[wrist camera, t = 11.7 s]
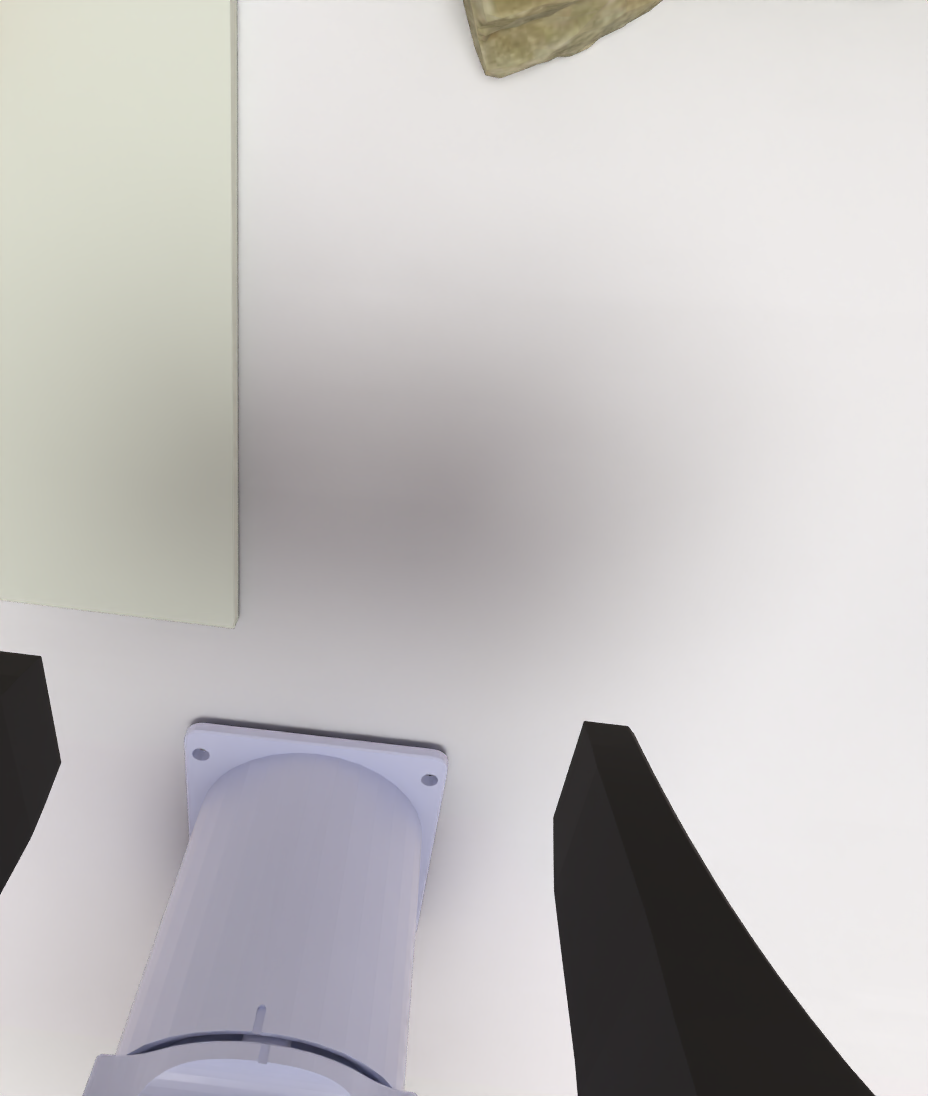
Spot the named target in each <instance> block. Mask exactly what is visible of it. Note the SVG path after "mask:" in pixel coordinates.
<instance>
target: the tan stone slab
mask: <svg viewBox="0 0 928 1096" xmlns="http://www.w3.org/2000/svg"><path fill="white" fill-rule="evenodd" d="M661 1H662V0H463V2H464V6H465V10H466V15H467V19H468V23H469V26H470V30H471V34H472V38H473V42H474V46H475V49H476V52H477V54H478V57H479V59H480V62H481V65H482V67H483V70H484V72H485V75H488V76H492V77H497V78H502V77H505V76H508V75H510V74H513V73H516V72H519V71H521V70H524V69H526V68H529V67H531V66H534V65H536V64H540V63H544V62H547V61H550V60H552V59H554V58H556V57H567V56H572V55H574V54H577V53H579V52H581V51H583V50H585V49H588V48H589V47H590V46H591V45H593V44H594V43H595V42H596V41H597V40H598V39H599V38H601V37H603V36H605V35H607V34H609V33H611V32H613V31H615V30H618V29H620V28H622V27H623V26H625V25H626V24H627V23H629V22H631V21H632V20H634V19H636V18H638V17H640V16H641V15H643V14H645V13H647V12H648V11H650V10H651V9H652V8H654V7H655V6H656V5H657V4H659V3H660V2H661Z"/></svg>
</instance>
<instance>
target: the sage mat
mask: <svg viewBox="0 0 928 1096" xmlns="http://www.w3.org/2000/svg"><path fill="white" fill-rule="evenodd" d="M0 600H1V601H9V602H17V603H26V604H34V605H42V606H50V607H58V608H67V609H75V610H83V611H91V612H99V613H108V614H116V615H124V616H132V617H140V618H149V619H157V620H165V621H173V622H182V623H190V624H198V625H206V626H214V627H223V628H231V629H234V628H235V625H236V623H237V620H238V247H237V0H0Z"/></svg>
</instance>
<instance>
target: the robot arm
mask: <svg viewBox="0 0 928 1096" xmlns="http://www.w3.org/2000/svg"><path fill="white" fill-rule="evenodd" d="M184 747H185V766H186V785H187V805H188V824H189V843H188V846H187V849H186V852H185V854H184V857H183V860H182V863H181V866H180V869H179V872H178V875H177V878H176V880H175V883H174V886H173V889H172V892H171V895H170V898H169V901H168V904H167V906H166V909H165V912H164V915H163V918H162V921H161V924H160V927H159V930H158V932H157V935H156V938H155V941H154V944H153V947H152V950H151V953H150V956H149V958H148V961H147V964H146V967H145V970H144V973H143V976H142V979H141V981H140V984H139V987H138V990H137V993H136V996H135V999H134V1002H133V1005H132V1007H131V1010H130V1013H129V1016H128V1019H127V1022H126V1025H125V1028H124V1031H123V1033H122V1036H121V1039H120V1042H119V1045H118V1048H117V1051H116V1054H115V1055H108V1054H101V1055H99V1056H97V1057H96V1060H95V1063H94V1065H93V1068H92V1071H91V1074H90V1076H89V1079H88V1082H87V1085H86V1087H85V1090H84V1093H83V1096H417V1094H416V1093H413V1092H408V1091H404V1086H405V1072H406V1058H407V1043H408V1029H409V1015H410V1001H411V987H412V973H413V958H414V944H415V933H416V931H417V927H418V921H419V916H420V911H421V906H422V901H423V895H424V890H425V885H426V880H427V875H428V870H429V864H430V859H431V854H432V849H433V844H434V838H435V833H436V828H437V823H438V818H439V812H440V807H441V802H442V797H443V792H444V786H445V781H446V776H447V771H448V758H447V756H446V755H445V754H444V753H443V752H441V751H439V750H435V749H428V748H419V747H410V746H402V745H393V744H384V743H376V742H367V741H358V740H349V739H341V738H332V737H323V736H314V735H306V734H297V733H288V732H280V731H271V730H262V729H253V728H245V727H236V726H227V725H218V724H210V723H195V724H193V725H191V726H190V727H189V728H188V730H187V732H186V735H185V738H184ZM200 748H201V749H204V750H206V751H203V750H200ZM60 764H61V759H60V753H59V748H58V743H57V737H56V732H55V727H54V721H53V716H52V711H51V705H50V700H49V695H48V689H47V684H46V679H45V673H44V668H43V663H42V658H41V656H35V655H27V654H18V653H10V652H2V651H0V894H1V892H2V890H3V888H4V887H5V885H6V883H7V881H8V879H9V877H10V876H11V874H12V872H13V870H14V868H15V866H16V865H17V863H18V861H19V859H20V857H21V855H22V853H23V852H24V850H25V848H26V846H27V844H28V842H29V840H30V838H31V837H32V835H33V832H34V830H35V827H36V825H37V822H38V820H39V818H40V815H41V813H42V810H43V808H44V806H45V803H46V801H47V798H48V795H49V793H50V790H51V788H52V785H53V782H54V780H55V777H56V775H57V772H58V769H59V767H60ZM428 774H431V775H434V776H427V775H428ZM553 841H554V894H555V903H556V911H557V920H558V928H559V937H560V945H561V953H562V961H563V969H564V977H565V985H566V993H567V1001H568V1010H569V1018H570V1026H571V1034H572V1042H573V1050H574V1058H575V1068H576V1080H577V1092H578V1096H875V1095H874V1094H873V1093H872V1092H871V1090H870V1089H869V1088H868V1087H867V1086H866V1085H865V1084H864V1082H863V1081H862V1080H861V1079H860V1078H859V1077H858V1076H857V1075H856V1073H855V1072H854V1071H853V1070H852V1069H851V1068H850V1066H849V1065H848V1064H847V1063H846V1062H845V1060H844V1059H843V1058H842V1057H841V1055H840V1054H839V1053H838V1052H837V1050H836V1049H835V1048H834V1047H833V1045H832V1044H831V1043H830V1042H829V1040H828V1039H827V1038H826V1037H825V1035H824V1034H823V1033H822V1032H821V1030H820V1029H819V1028H818V1027H817V1025H816V1024H815V1023H814V1022H813V1020H812V1019H811V1018H810V1017H809V1015H808V1014H807V1013H806V1011H805V1010H804V1009H803V1007H802V1006H801V1005H800V1003H799V1002H798V1001H797V999H796V998H795V997H794V996H793V994H792V993H791V992H790V990H789V989H788V988H787V986H786V985H785V984H784V982H783V981H782V980H781V978H780V977H779V975H778V974H777V973H776V971H775V970H774V968H773V967H772V966H771V964H770V963H769V962H768V960H767V959H766V957H765V956H764V954H763V953H762V951H761V950H760V949H759V947H758V946H757V944H756V943H755V941H754V940H753V938H752V937H751V935H750V934H749V932H748V931H747V929H746V928H745V926H744V925H743V923H742V922H741V920H740V919H739V917H738V916H737V914H736V913H735V911H734V910H733V908H732V907H731V905H730V904H729V902H728V901H727V899H726V897H725V896H724V894H723V893H722V891H721V890H720V888H719V886H718V885H717V883H716V882H715V880H714V878H713V877H712V875H711V873H710V872H709V870H708V868H707V867H706V865H705V863H704V862H703V860H702V858H701V857H700V855H699V853H698V852H697V850H696V848H695V847H694V845H693V843H692V842H691V840H690V838H689V837H688V835H687V833H686V831H685V830H684V828H683V826H682V824H681V822H680V821H679V819H678V817H677V815H676V814H675V812H674V810H673V808H672V806H671V804H670V803H669V801H668V799H667V797H666V795H665V793H664V792H663V790H662V788H661V786H660V784H659V782H658V780H657V778H656V776H655V775H654V773H653V771H652V769H651V767H650V765H649V763H648V761H647V759H646V757H645V755H644V753H643V751H642V749H641V747H640V745H639V743H638V741H637V739H636V737H635V735H634V733H633V732H632V731H631V729H630V728H629V727H628V726H621V725H613V724H605V723H596V722H588V721H584V723H583V726H582V729H581V732H580V735H579V739H578V742H577V745H576V748H575V751H574V754H573V757H572V761H571V764H570V767H569V770H568V773H567V776H566V780H565V783H564V786H563V789H562V792H561V795H560V798H559V802H558V805H557V808H556V811H555V814H554V817H553Z"/></svg>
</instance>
